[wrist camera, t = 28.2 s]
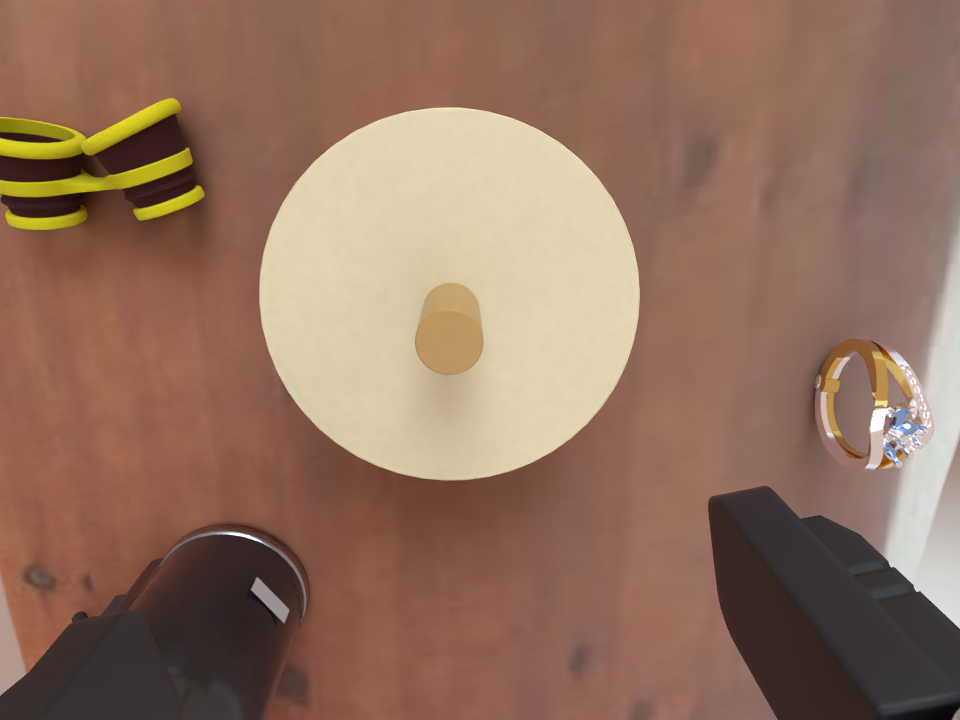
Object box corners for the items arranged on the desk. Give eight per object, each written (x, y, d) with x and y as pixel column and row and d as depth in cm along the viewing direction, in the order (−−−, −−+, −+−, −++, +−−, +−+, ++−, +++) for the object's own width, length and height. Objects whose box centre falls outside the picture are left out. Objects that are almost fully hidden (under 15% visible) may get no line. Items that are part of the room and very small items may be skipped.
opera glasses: (44, 214, 35) (-14, 244, 31) (0, 111, 33) (-69, 128, 28) (222, 196, 35) (190, 223, 31) (192, 92, 32) (153, 105, 28)
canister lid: (324, 498, 30) (293, 578, 24) (216, 156, 25) (146, 155, 20) (654, 432, 29) (700, 497, 24) (604, 70, 25) (647, 44, 19)
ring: (833, 436, 40) (921, 503, 32) (782, 432, 39) (859, 498, 32) (864, 326, 37) (967, 369, 30) (810, 321, 37) (900, 363, 30)
